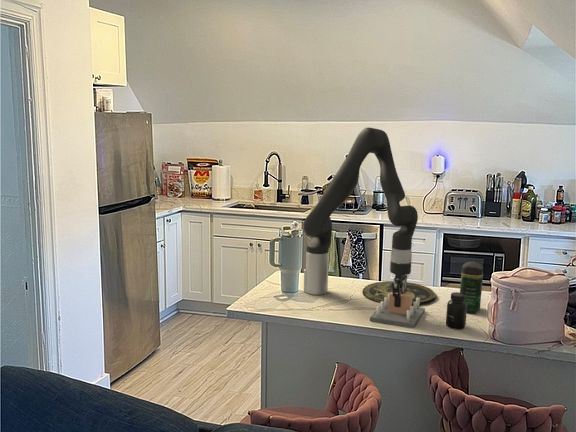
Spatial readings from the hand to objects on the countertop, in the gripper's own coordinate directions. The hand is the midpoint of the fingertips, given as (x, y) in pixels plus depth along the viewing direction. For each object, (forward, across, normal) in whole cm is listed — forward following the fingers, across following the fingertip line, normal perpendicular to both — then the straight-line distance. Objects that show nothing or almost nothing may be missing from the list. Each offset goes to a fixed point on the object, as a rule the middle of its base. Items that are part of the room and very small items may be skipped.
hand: (398, 305), depth 221 cm
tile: (+3, 0, +1) cm, 3 cm away
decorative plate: (+5, -26, -6) cm, 27 cm away
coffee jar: (+5, -20, +23) cm, 31 cm away
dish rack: (+4, 0, 0) cm, 4 cm away
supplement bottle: (+5, +1, +21) cm, 22 cm away
